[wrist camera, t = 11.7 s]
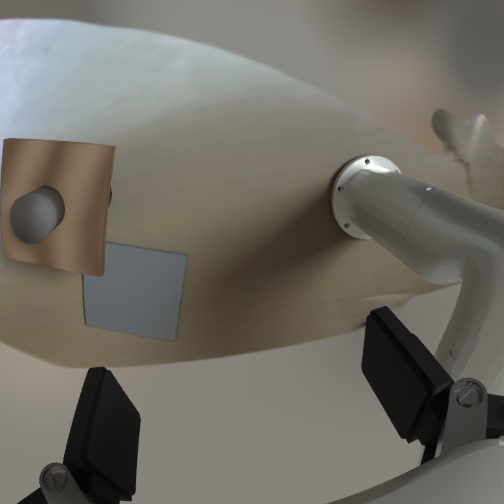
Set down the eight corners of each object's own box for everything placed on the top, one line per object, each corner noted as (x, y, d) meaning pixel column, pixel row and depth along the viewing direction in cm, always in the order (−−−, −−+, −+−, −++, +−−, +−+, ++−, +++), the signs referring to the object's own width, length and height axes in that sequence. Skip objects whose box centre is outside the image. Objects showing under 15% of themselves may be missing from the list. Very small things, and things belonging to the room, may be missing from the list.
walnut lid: (116, 146, 24) (97, 151, 19) (104, 272, 29) (90, 298, 24) (9, 138, 21) (-19, 143, 16) (9, 252, 26) (-14, 272, 21)
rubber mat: (187, 255, 40) (187, 256, 40) (175, 339, 46) (175, 341, 45) (84, 237, 37) (83, 239, 36) (87, 323, 42) (86, 325, 42)
